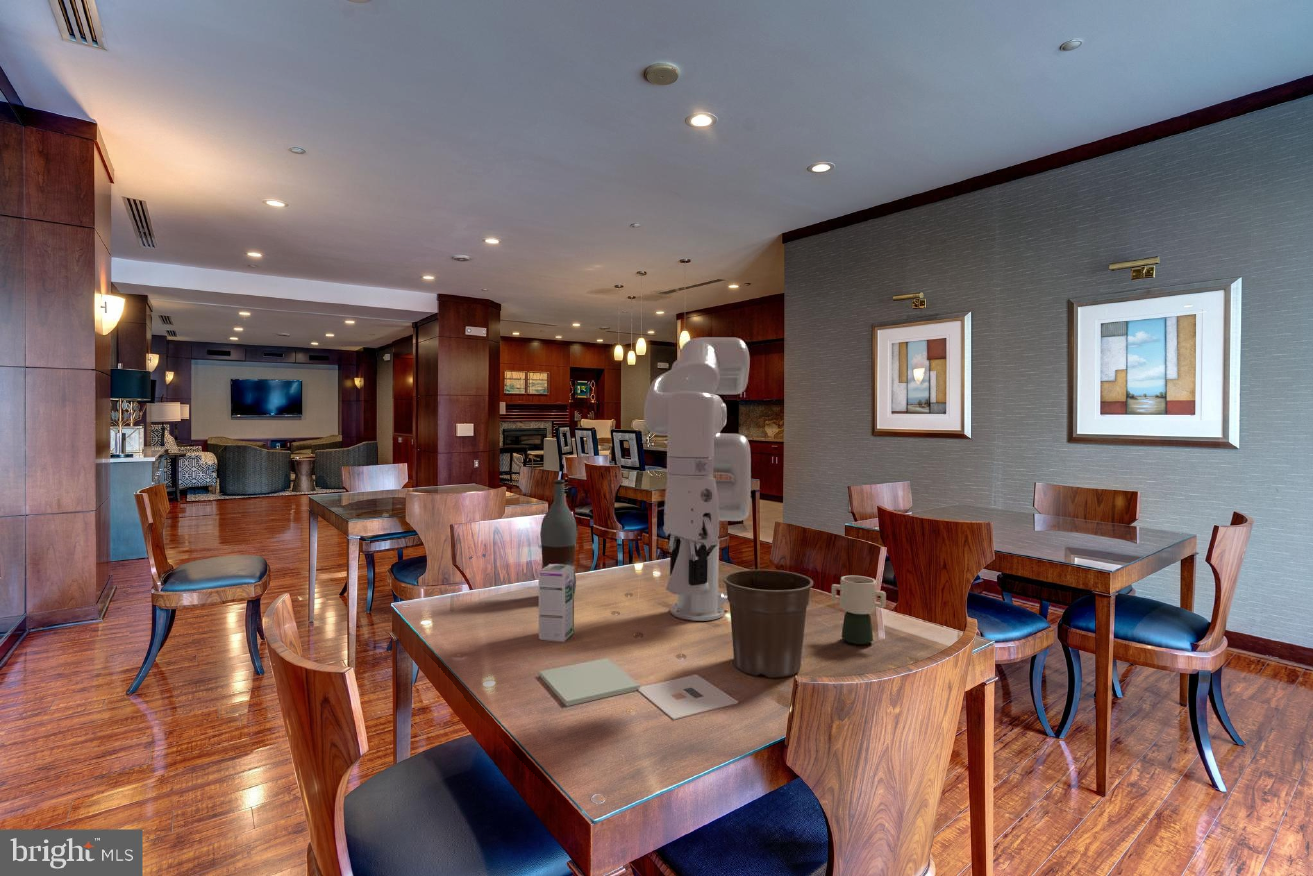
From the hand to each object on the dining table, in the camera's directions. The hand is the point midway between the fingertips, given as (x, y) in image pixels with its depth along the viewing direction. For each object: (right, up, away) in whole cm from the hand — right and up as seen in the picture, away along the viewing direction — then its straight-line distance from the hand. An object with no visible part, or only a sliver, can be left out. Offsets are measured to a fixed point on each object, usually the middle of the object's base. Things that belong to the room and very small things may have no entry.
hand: (688, 578), depth 98 cm
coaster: (-17, -19, +5) cm, 26 cm away
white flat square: (0, -19, 0) cm, 19 cm away
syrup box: (-26, -19, +27) cm, 42 cm away
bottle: (-30, -18, +55) cm, 65 cm away
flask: (0, -2, 0) cm, 2 cm away
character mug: (+36, -20, +27) cm, 49 cm away
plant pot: (+15, -19, +13) cm, 28 cm away
